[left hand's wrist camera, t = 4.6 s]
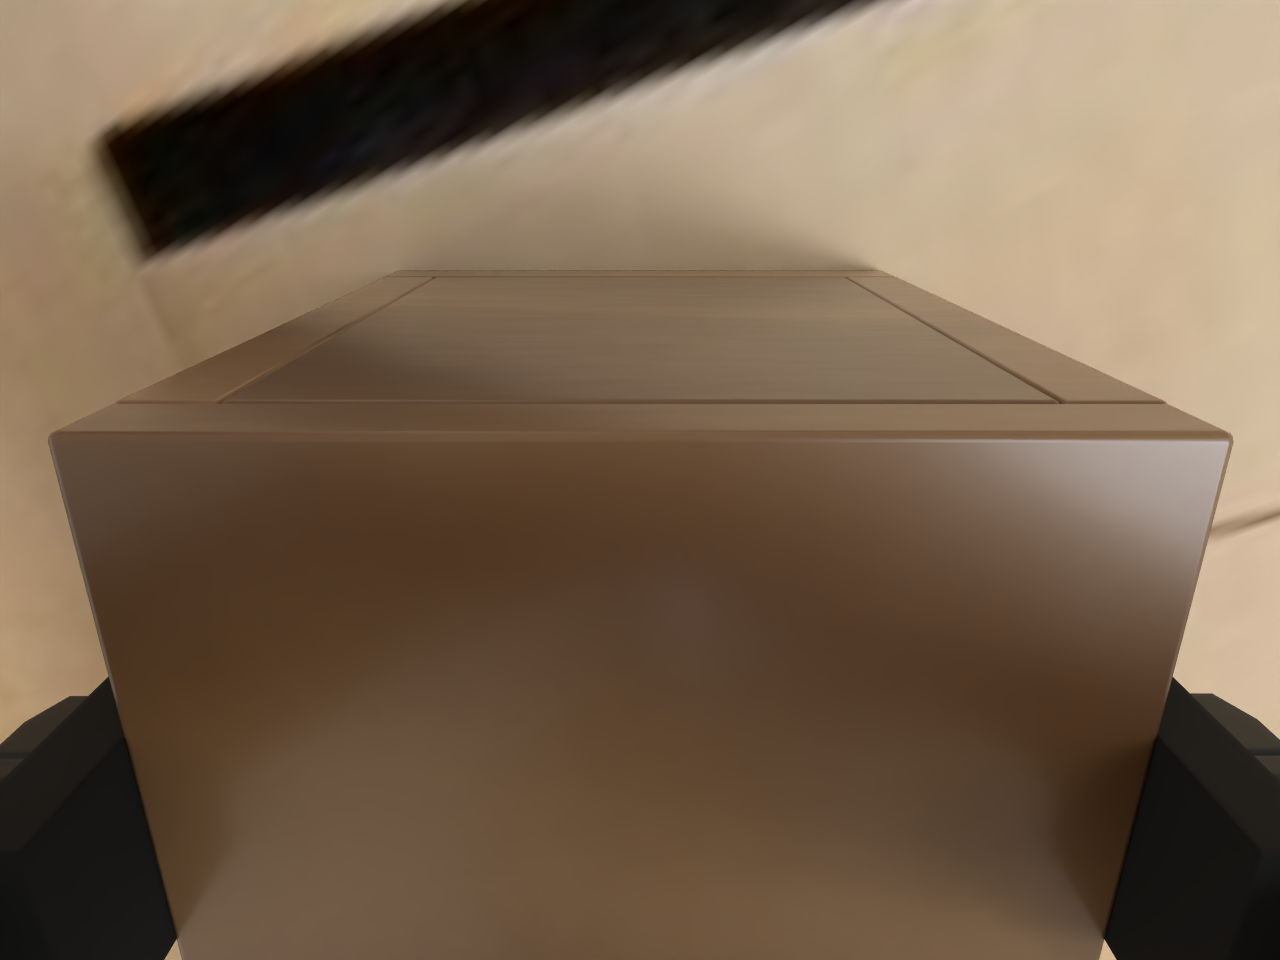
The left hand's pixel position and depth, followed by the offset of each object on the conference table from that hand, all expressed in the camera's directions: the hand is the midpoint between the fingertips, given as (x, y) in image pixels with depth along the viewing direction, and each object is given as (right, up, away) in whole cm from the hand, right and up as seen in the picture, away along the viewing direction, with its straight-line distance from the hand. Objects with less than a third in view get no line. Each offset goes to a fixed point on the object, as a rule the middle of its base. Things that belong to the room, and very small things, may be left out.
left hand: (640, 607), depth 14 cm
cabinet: (0, -1, +7) cm, 7 cm away
